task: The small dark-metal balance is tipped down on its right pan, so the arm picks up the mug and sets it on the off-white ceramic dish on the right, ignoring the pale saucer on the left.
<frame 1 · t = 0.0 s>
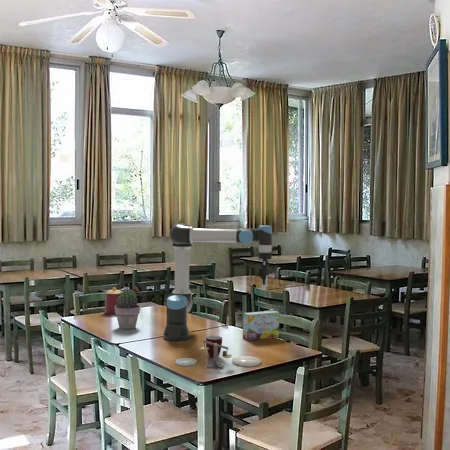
hand: (264, 288, 335), 28 cm above the table, fingers open, 13 cm apart
dish right: (246, 362, 281), on the table
mug: (212, 357, 290), on the table
canister: (114, 312, 398), on the table
saucer left: (185, 362, 279), on the table
potted plant: (126, 328, 351), on the table
balance: (215, 366, 273), on the table
snack box: (261, 338, 331), on the table
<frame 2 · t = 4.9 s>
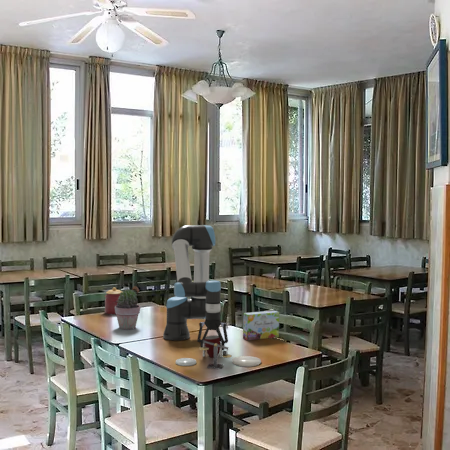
hand: (212, 356, 290), 0 cm above the table, fingers closed on mug, 8 cm apart
mug: (212, 356, 290), on the table, touching gripper
everything else where it was.
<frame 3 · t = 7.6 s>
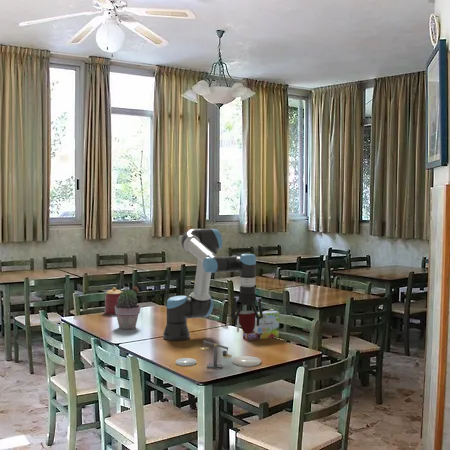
hand: (246, 331, 281), 15 cm above the table, fingers closed on mug, 8 cm apart
mug: (246, 332, 281), point 15 cm above the table, touching gripper
everything else where it was.
when the fingers open (3 cm above the table, at t = 10.1 s): mug drops 2 cm, resting on dish right.
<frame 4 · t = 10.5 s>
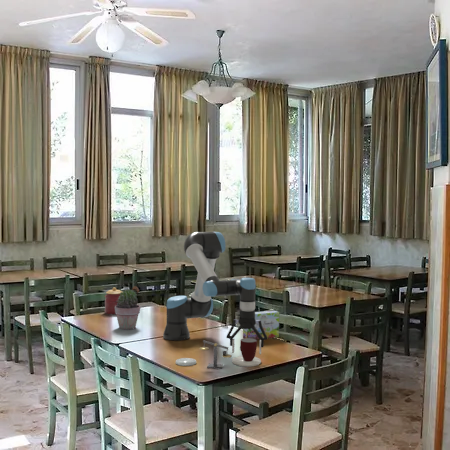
hand: (246, 353, 281), 5 cm above the table, fingers open, 13 cm apart
mug: (246, 360, 281), point 1 cm above the table, touching dish right
everything else where it was.
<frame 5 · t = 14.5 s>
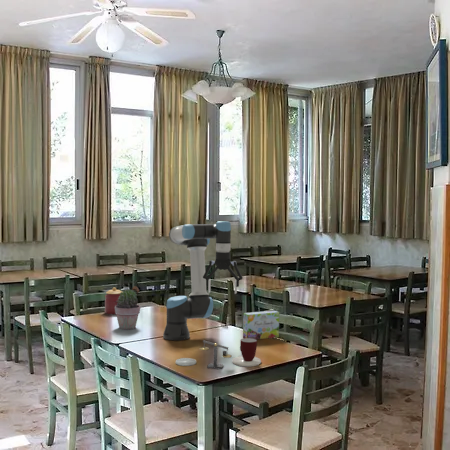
hand: (222, 292, 294), 32 cm above the table, fingers open, 13 cm apart
nothing on the table moved.
at the end: mug 0.2 cm from the dish right (horizontally); mug touching dish right; mug tilted 0° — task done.
